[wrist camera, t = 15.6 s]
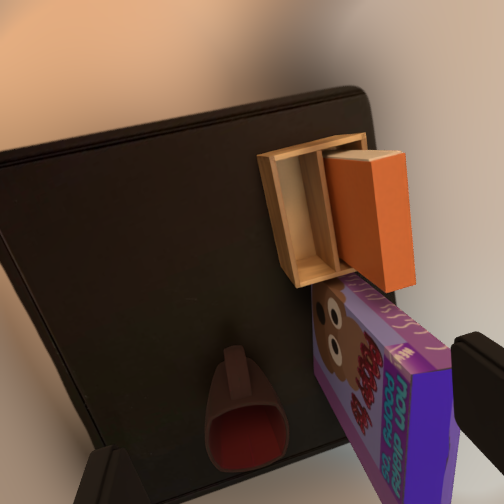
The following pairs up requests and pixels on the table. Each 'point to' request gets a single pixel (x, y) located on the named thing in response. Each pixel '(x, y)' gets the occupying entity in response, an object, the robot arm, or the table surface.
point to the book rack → (304, 208)
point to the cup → (243, 416)
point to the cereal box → (386, 390)
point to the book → (372, 214)
